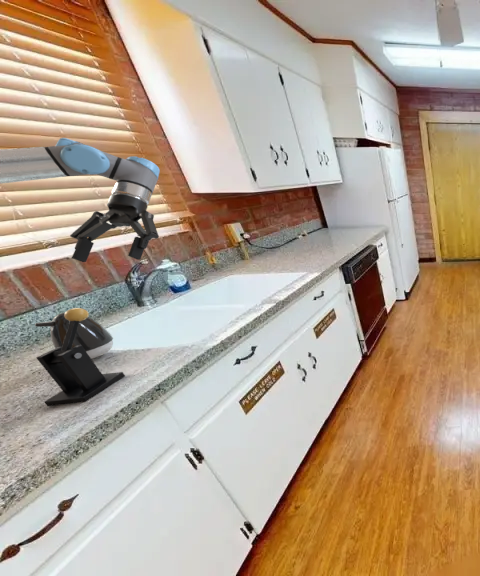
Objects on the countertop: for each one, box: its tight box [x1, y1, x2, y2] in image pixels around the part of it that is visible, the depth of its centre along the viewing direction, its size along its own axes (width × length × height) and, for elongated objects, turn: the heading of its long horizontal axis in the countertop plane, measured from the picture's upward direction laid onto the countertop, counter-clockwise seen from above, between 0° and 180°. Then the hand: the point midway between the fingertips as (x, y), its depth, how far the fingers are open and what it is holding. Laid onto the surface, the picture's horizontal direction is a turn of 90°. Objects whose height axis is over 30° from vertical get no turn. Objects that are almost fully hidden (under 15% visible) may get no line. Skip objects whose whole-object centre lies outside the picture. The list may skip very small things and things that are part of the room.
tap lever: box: [51, 307, 90, 363], centre depth 76 cm, size 14×4×4 cm
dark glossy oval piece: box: [34, 311, 114, 360], centre depth 89 cm, size 10×10×15 cm
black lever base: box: [36, 345, 126, 407], centre depth 76 cm, size 10×8×13 cm
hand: (106, 259), depth 87 cm, fingers open, 13 cm apart
